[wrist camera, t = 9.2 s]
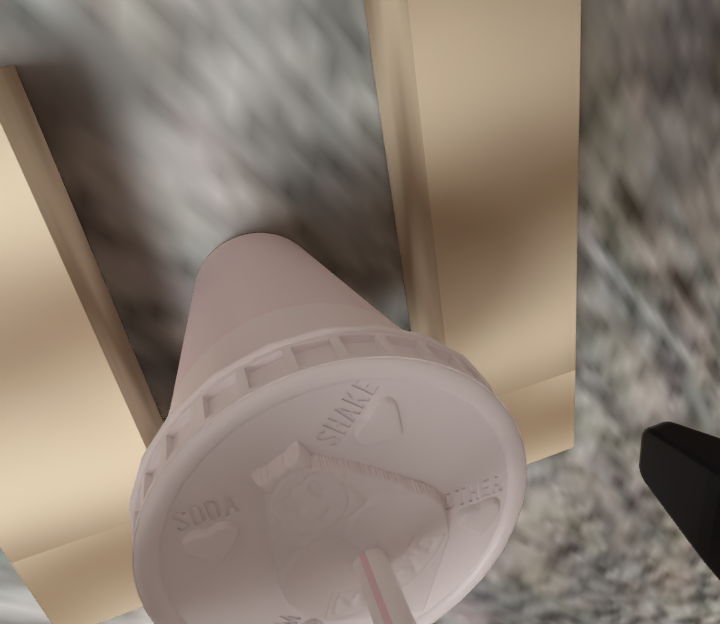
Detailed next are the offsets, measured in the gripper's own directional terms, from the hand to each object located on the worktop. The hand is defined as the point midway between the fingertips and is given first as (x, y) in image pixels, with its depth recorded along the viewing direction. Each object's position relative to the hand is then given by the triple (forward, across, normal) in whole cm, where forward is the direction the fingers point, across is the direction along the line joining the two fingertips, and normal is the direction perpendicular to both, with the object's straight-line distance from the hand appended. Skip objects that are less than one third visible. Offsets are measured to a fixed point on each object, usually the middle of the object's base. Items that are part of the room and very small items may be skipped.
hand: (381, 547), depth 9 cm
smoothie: (+10, 0, 0) cm, 10 cm away
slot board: (+10, 0, 0) cm, 10 cm away
